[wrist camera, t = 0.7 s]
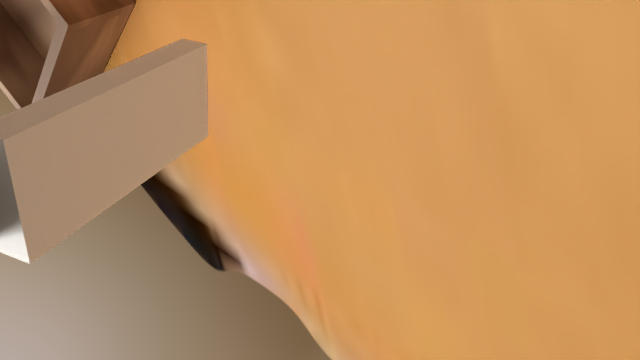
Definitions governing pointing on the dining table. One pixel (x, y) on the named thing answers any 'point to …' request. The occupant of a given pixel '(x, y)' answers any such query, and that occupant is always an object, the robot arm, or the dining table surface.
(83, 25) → the open box
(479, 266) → the dining table surface
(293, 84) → the dining table surface
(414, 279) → the dining table surface
